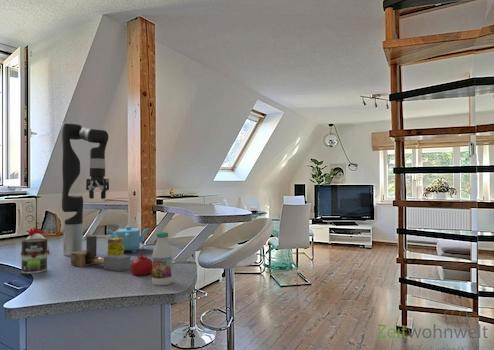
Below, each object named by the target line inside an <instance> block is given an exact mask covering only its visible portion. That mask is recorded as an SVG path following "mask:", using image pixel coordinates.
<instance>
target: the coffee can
mask: <svg viewBox="0 0 494 350" xmlns="http://www.w3.org/2000/svg"><path fill="white" fill-rule="evenodd" d="M48 241H49V240H48V239H47V238H45V239H28V240H26V239H24V240H23V239H22V240H21V250H22V256H21V266H20V267H21V273H22V274H25V275H26V274H36V273H37V274H39V273H42V272H46V271H47V270H48V254H47V243H48Z"/></svg>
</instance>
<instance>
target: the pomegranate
mask: <svg viewBox="0 0 494 350" xmlns="http://www.w3.org/2000/svg"><path fill="white" fill-rule="evenodd" d="M139 254H140V255H136V258H135V257H134V258H132V260H133V259H134V260H133V261H132V262H131V265H130V269H129V270H130V273H131V274H132V275H136V276H147V275H150V274H151V273H152V258H149V257H151V255H149V257H148V255H144V254H143V252H140V253H139Z"/></svg>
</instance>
